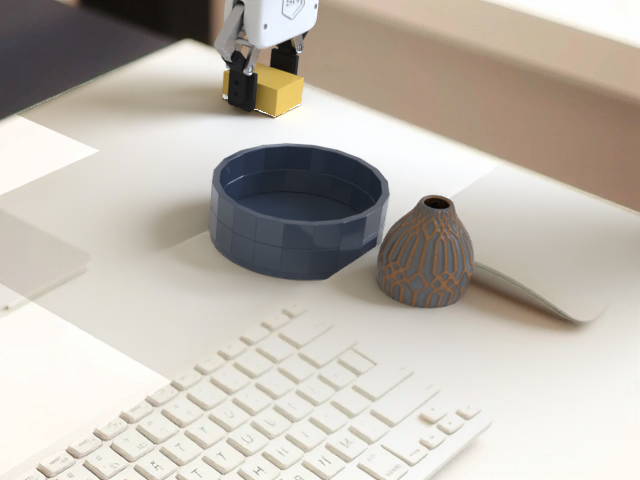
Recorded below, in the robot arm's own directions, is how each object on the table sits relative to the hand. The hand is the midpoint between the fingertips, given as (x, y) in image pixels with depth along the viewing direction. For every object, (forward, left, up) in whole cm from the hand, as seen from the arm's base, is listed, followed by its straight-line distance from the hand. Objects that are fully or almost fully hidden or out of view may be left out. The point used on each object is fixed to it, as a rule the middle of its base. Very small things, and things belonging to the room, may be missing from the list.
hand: (261, 96), depth 112 cm
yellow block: (0, 0, -1) cm, 1 cm away
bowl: (+20, +19, -1) cm, 28 cm away
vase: (+22, +32, -1) cm, 39 cm away
